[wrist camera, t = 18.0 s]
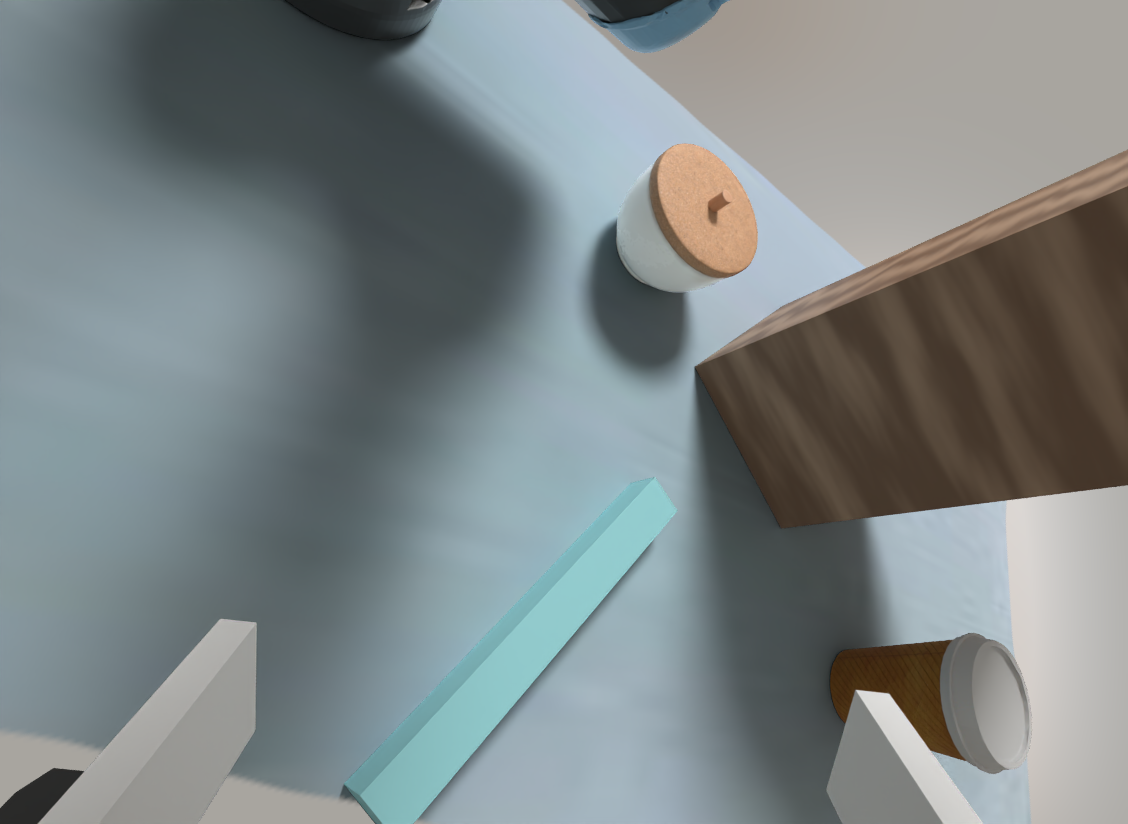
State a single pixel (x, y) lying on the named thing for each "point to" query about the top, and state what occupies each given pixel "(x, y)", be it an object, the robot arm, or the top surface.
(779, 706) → the top surface
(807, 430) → the stand
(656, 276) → the lidded jar
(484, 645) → the bar
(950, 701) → the disposable coffee cup
